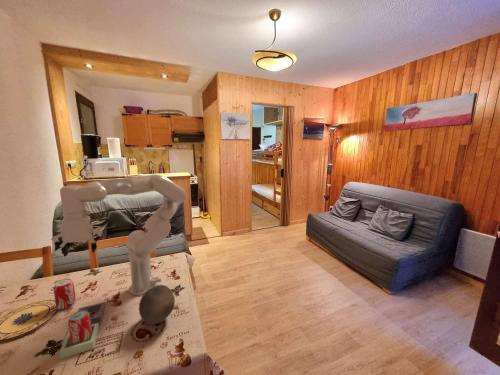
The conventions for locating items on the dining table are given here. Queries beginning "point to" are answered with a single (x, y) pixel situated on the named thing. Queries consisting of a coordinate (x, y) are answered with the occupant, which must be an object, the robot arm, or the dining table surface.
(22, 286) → the dining table surface
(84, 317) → the soda can
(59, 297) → the soda can
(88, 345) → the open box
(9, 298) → the dining table surface
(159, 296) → the cantaloupe
